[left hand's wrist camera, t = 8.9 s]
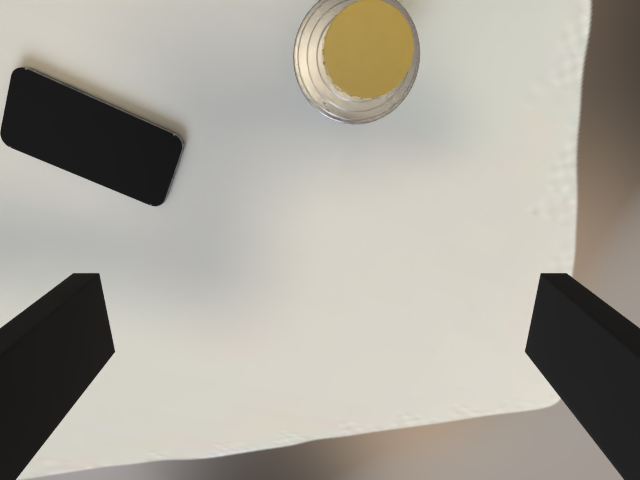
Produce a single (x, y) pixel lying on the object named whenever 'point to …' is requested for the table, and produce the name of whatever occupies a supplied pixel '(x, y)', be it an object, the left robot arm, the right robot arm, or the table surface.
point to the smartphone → (89, 137)
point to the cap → (368, 49)
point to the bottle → (319, 84)
